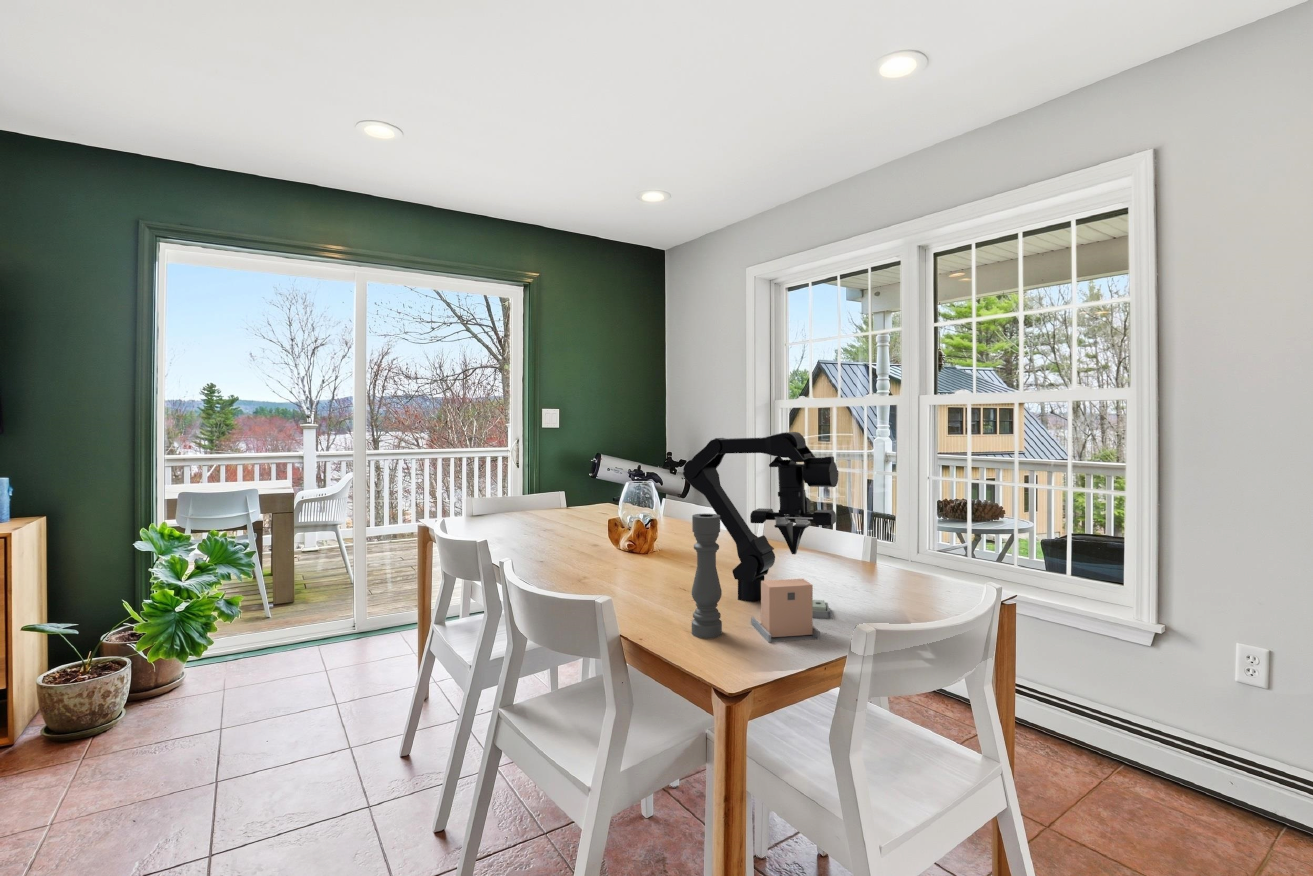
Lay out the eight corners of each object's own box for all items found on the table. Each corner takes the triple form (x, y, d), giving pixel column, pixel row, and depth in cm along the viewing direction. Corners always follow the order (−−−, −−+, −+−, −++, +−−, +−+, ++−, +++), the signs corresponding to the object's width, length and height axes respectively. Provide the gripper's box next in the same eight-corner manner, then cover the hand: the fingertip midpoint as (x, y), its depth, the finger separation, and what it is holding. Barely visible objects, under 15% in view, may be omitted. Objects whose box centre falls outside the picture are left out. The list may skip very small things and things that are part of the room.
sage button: (801, 615, 141) (801, 605, 140) (800, 608, 146) (800, 598, 146) (826, 616, 140) (826, 606, 140) (824, 609, 145) (824, 599, 145)
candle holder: (703, 630, 134) (702, 512, 133) (728, 637, 130) (727, 515, 129) (685, 639, 130) (684, 516, 129) (710, 645, 126) (710, 519, 125)
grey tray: (751, 628, 135) (751, 617, 135) (798, 625, 137) (798, 614, 137) (768, 647, 124) (768, 634, 124) (820, 643, 126) (820, 631, 126)
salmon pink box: (761, 629, 131) (761, 580, 131) (802, 626, 133) (802, 578, 132) (769, 637, 126) (769, 587, 126) (812, 634, 128) (813, 585, 127)
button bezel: (795, 621, 139) (795, 611, 139) (794, 610, 147) (794, 600, 147) (833, 623, 138) (833, 612, 138) (830, 612, 146) (830, 602, 146)
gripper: (839, 483, 150) (842, 549, 150) (763, 483, 159) (765, 545, 159) (829, 488, 140) (832, 559, 140) (748, 487, 149) (751, 554, 149)
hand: (794, 554), depth 147 cm, fingers closed
